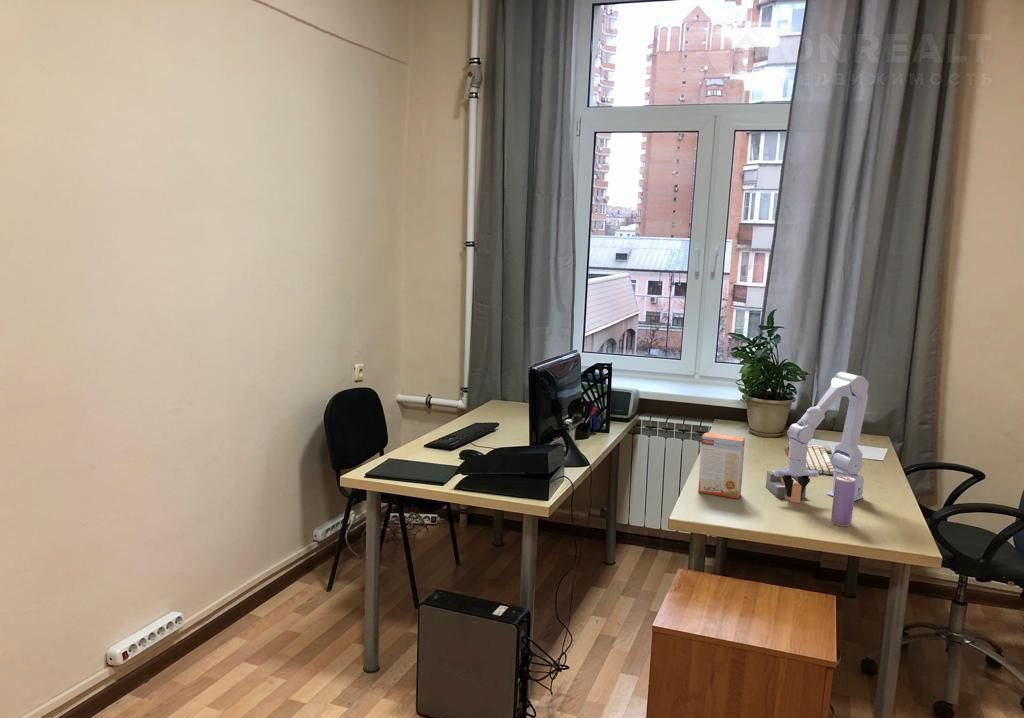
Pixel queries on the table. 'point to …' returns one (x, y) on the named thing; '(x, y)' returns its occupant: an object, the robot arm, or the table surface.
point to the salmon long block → (793, 491)
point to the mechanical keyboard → (817, 459)
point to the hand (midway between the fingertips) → (793, 496)
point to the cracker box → (721, 465)
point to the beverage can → (843, 500)
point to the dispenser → (778, 485)
